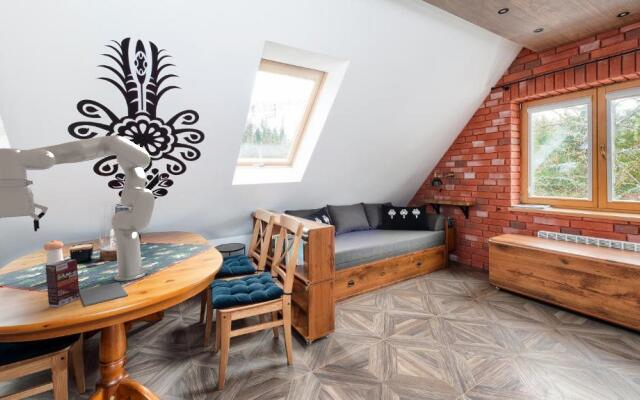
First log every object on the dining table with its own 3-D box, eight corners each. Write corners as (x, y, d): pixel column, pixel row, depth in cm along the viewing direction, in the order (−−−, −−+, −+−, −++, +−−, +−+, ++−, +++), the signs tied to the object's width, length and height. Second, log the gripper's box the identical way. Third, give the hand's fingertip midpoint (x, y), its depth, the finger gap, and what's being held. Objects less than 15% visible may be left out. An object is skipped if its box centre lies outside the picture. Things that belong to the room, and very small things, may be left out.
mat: (118, 283, 139) (118, 281, 139) (127, 295, 125) (127, 294, 125) (78, 291, 130) (78, 290, 130) (84, 306, 115) (84, 305, 115)
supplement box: (58, 307, 115) (54, 265, 113) (48, 306, 116) (44, 265, 114) (81, 298, 123) (77, 259, 122) (71, 297, 124) (67, 258, 123)
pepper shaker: (59, 283, 140) (55, 241, 139) (42, 283, 140) (38, 242, 138) (71, 277, 148) (67, 238, 146) (54, 278, 147) (51, 238, 145)
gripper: (45, 183, 117) (49, 228, 118) (-23, 185, 105) (-17, 234, 107) (45, 183, 111) (50, 231, 113) (-26, 185, 100) (-21, 238, 101)
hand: (17, 232), depth 110 cm, fingers open, 9 cm apart
